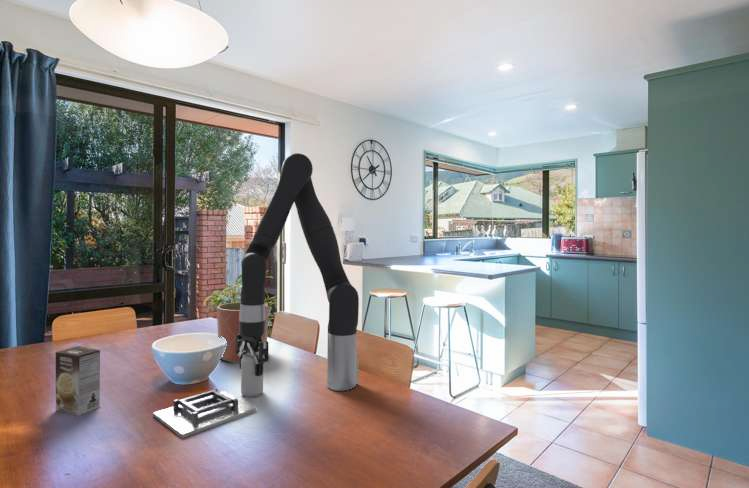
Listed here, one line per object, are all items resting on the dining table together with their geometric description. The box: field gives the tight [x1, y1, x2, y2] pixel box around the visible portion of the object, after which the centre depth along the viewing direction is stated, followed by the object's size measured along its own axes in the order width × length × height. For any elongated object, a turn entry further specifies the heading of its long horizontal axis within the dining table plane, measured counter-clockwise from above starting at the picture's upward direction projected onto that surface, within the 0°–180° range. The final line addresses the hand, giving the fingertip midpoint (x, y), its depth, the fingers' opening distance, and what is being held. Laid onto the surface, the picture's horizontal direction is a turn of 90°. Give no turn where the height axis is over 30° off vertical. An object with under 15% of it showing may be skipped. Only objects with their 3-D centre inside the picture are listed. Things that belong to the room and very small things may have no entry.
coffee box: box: [55, 345, 101, 417], centre depth 112 cm, size 9×6×16 cm
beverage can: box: [240, 352, 264, 398], centre depth 124 cm, size 6×6×12 cm
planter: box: [216, 301, 269, 364], centre depth 161 cm, size 19×19×20 cm
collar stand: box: [153, 387, 257, 439], centre depth 110 cm, size 20×17×4 cm
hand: (251, 372), depth 124 cm, fingers open, 8 cm apart
